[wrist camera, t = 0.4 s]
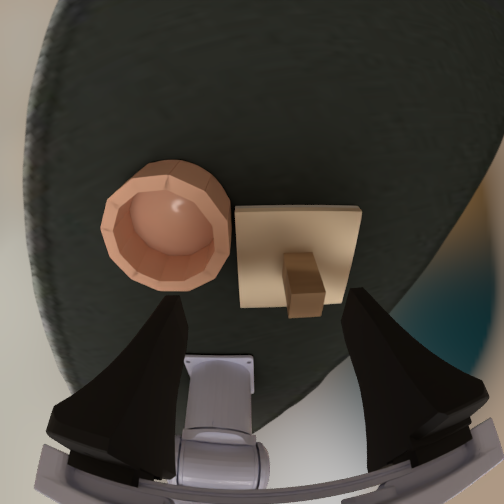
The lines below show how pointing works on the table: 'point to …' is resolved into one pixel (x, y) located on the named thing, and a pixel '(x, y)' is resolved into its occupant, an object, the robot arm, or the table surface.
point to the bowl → (169, 226)
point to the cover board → (293, 237)
